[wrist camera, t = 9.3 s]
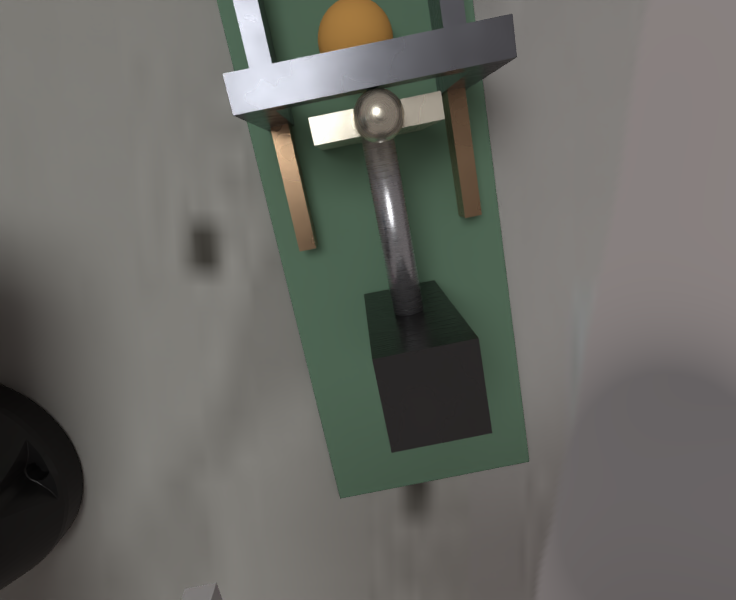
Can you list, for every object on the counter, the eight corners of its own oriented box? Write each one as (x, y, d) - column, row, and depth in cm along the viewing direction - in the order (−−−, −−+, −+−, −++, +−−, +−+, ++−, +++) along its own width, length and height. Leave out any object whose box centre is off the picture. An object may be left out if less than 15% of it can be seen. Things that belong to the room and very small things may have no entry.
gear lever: (455, 343, 33) (507, 430, 22) (366, 361, 33) (376, 455, 22) (416, 100, 29) (458, 60, 18) (315, 120, 29) (297, 93, 18)
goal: (480, 210, 31) (534, 228, 22) (296, 248, 31) (275, 281, 22) (439, -99, 26) (486, -235, 17) (224, -54, 26) (162, -166, 18)
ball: (294, 16, 24) (309, 74, 28) (357, 55, 23) (363, 109, 27) (346, -35, 25) (354, 28, 29) (409, 0, 24) (408, 61, 28)
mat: (527, 458, 36) (529, 461, 36) (340, 495, 36) (340, 498, 36) (458, -94, 27) (460, -98, 26) (207, -41, 27) (205, -45, 26)
